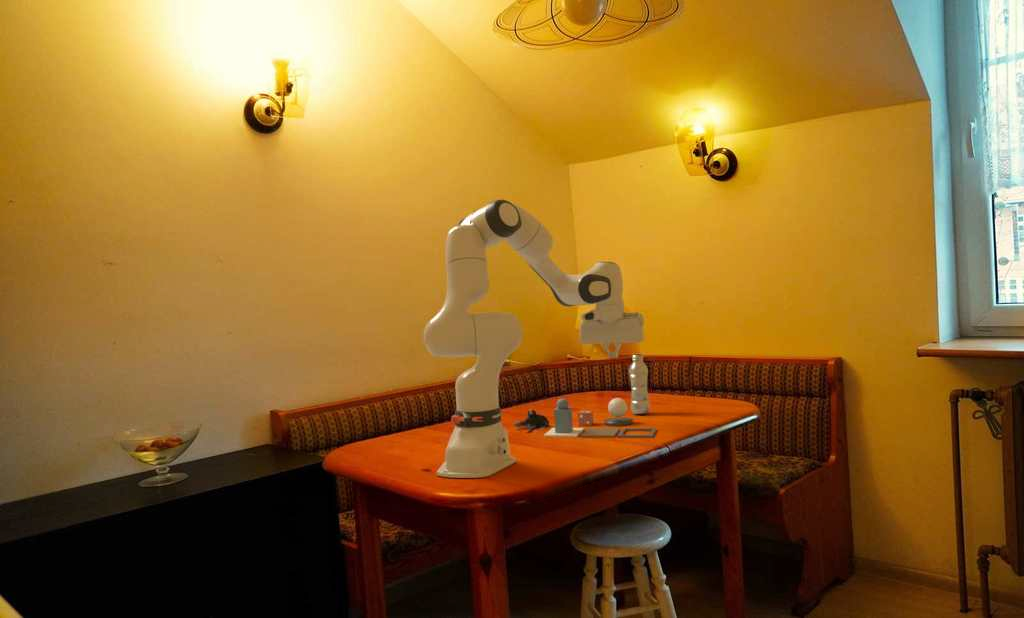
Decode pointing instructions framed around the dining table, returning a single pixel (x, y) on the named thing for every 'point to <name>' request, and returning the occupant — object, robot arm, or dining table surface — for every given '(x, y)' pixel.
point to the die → (585, 418)
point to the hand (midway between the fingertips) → (612, 357)
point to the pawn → (563, 417)
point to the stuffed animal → (533, 421)
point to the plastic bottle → (639, 385)
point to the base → (618, 421)
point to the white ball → (617, 407)
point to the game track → (601, 432)
